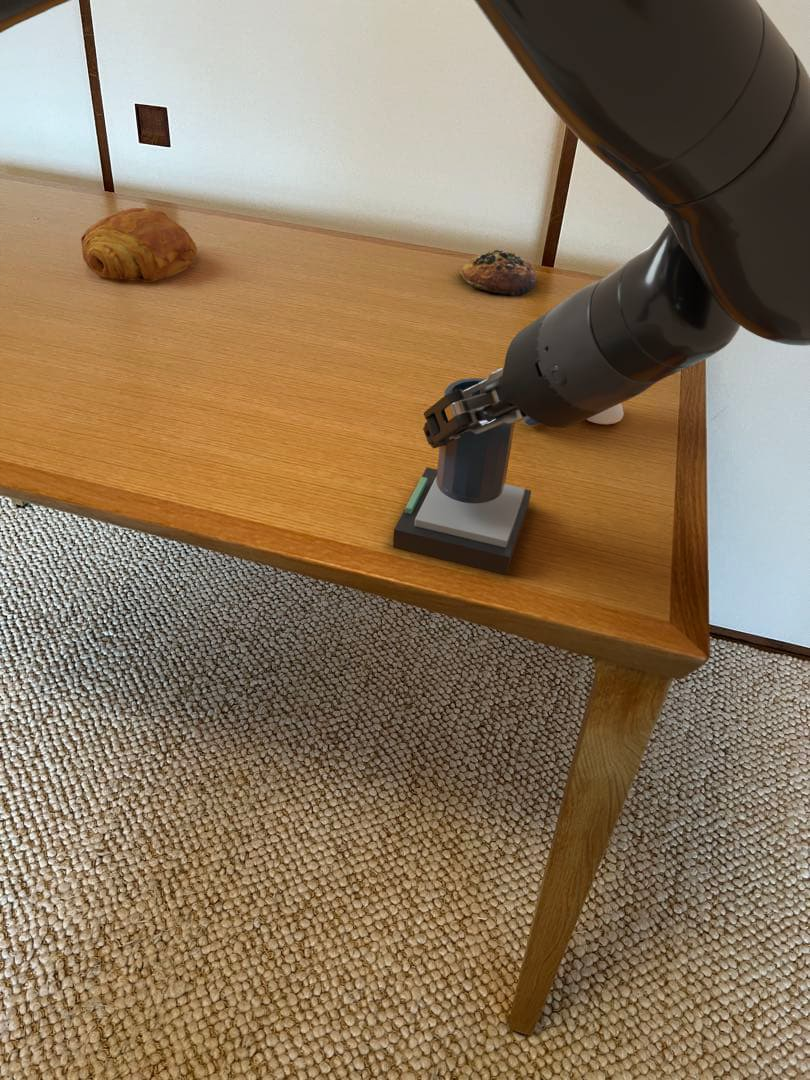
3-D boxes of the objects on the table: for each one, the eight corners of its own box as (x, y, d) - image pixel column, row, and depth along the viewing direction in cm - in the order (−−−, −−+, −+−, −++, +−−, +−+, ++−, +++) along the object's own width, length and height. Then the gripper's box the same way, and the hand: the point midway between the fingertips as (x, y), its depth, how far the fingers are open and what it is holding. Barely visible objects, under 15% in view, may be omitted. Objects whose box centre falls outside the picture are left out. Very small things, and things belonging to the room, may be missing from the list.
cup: (425, 491, 68) (433, 402, 63) (451, 458, 72) (460, 371, 67) (490, 511, 67) (504, 421, 61) (512, 475, 71) (527, 389, 65)
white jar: (570, 419, 88) (614, 432, 87) (575, 395, 86) (621, 408, 85) (583, 399, 92) (627, 411, 90) (589, 376, 90) (633, 388, 88)
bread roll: (517, 301, 111) (518, 264, 109) (446, 292, 116) (446, 256, 114) (549, 281, 119) (552, 245, 116) (482, 272, 124) (482, 238, 121)
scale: (392, 547, 70) (394, 521, 68) (424, 484, 77) (427, 459, 76) (506, 575, 68) (511, 549, 66) (528, 507, 75) (532, 483, 74)
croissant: (71, 283, 113) (51, 227, 108) (147, 237, 122) (132, 183, 117) (148, 306, 108) (132, 249, 102) (222, 256, 117) (211, 201, 111)
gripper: (647, 281, 56) (515, 365, 71) (480, 320, 49) (373, 404, 64) (685, 383, 56) (544, 446, 71) (523, 436, 49) (406, 492, 64)
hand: (463, 426), depth 68 cm, fingers closed on cup, 6 cm apart
